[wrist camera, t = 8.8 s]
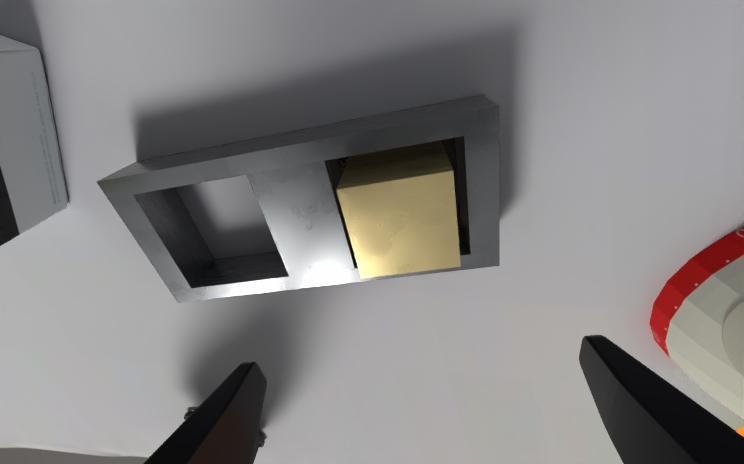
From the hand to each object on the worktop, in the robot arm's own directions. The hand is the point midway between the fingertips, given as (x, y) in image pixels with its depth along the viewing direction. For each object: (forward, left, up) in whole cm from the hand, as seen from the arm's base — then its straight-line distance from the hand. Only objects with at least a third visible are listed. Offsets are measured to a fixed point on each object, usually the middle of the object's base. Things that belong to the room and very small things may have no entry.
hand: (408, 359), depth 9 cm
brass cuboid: (0, 0, -12) cm, 12 cm away
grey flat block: (-5, 0, -12) cm, 13 cm away
